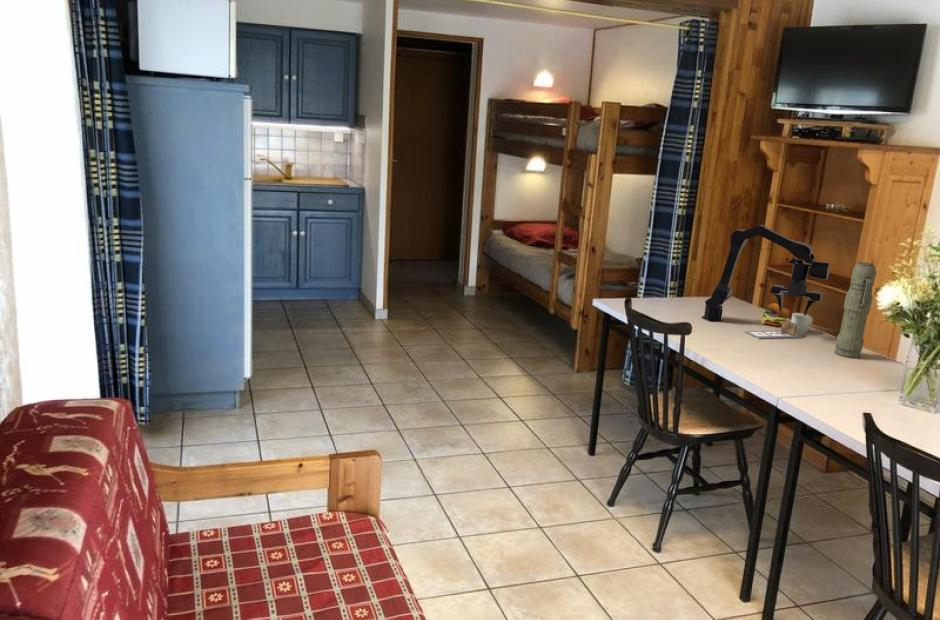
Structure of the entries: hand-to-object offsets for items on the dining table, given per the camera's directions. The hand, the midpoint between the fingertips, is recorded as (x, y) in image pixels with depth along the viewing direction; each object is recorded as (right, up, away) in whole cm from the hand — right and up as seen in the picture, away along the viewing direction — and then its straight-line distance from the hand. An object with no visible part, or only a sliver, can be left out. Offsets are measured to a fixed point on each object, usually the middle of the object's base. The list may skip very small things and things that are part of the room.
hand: (792, 313), depth 311 cm
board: (-8, -9, 0) cm, 12 cm away
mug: (+8, -7, +10) cm, 15 cm away
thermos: (+12, -16, -20) cm, 28 cm away
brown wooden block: (-1, -8, +2) cm, 8 cm away
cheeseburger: (0, -5, +19) cm, 20 cm away
